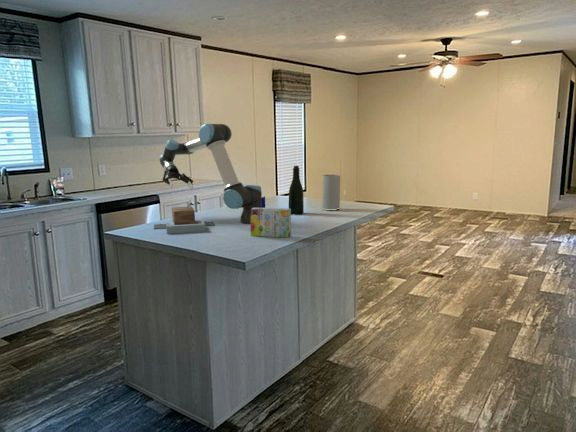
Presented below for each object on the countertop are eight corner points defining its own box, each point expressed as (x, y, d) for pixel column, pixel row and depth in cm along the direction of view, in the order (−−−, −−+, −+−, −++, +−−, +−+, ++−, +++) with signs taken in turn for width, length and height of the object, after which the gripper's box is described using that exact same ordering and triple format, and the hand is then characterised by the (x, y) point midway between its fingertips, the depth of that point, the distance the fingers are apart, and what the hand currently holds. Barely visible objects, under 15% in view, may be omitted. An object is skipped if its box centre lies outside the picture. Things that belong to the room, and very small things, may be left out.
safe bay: (166, 228, 254) (166, 222, 253) (203, 226, 260) (202, 220, 259) (166, 233, 241) (166, 226, 241) (205, 231, 247) (205, 224, 246)
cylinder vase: (318, 209, 320) (319, 175, 316) (330, 207, 328) (330, 174, 324) (331, 211, 311) (332, 176, 307) (343, 209, 319) (343, 175, 315)
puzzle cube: (261, 212, 310) (261, 198, 308) (248, 211, 312) (247, 197, 310) (265, 209, 319) (265, 196, 318) (252, 209, 321) (251, 195, 320)
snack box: (291, 235, 237) (291, 208, 234) (288, 238, 231) (288, 210, 229) (253, 233, 241) (253, 206, 239) (250, 236, 236) (249, 208, 233)
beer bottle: (285, 213, 305) (285, 165, 299) (297, 211, 311) (297, 165, 305) (294, 215, 296) (294, 166, 291) (306, 213, 303) (307, 165, 297)
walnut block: (172, 221, 277) (172, 207, 275) (192, 220, 280) (191, 206, 279) (174, 226, 262) (174, 211, 260) (195, 225, 266) (194, 210, 264)
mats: (154, 225, 264) (154, 224, 264) (212, 222, 274) (212, 221, 274) (153, 229, 253) (153, 228, 253) (214, 225, 263) (214, 224, 263)
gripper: (187, 176, 296) (198, 194, 282) (151, 172, 280) (161, 190, 266) (190, 167, 292) (202, 184, 279) (154, 162, 277) (164, 180, 263)
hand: (182, 187), depth 272 cm, fingers open, 13 cm apart
